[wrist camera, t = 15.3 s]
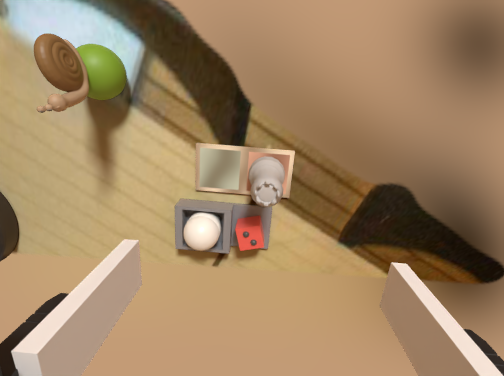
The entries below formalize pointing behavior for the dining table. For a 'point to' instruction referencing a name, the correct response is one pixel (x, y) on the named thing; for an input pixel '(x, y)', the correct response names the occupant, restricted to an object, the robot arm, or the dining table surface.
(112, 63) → the snail figurine
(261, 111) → the dining table surface
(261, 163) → the rook chess piece
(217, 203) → the grey compartment tray
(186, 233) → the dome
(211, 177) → the wooden double picture frame
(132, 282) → the robot arm
